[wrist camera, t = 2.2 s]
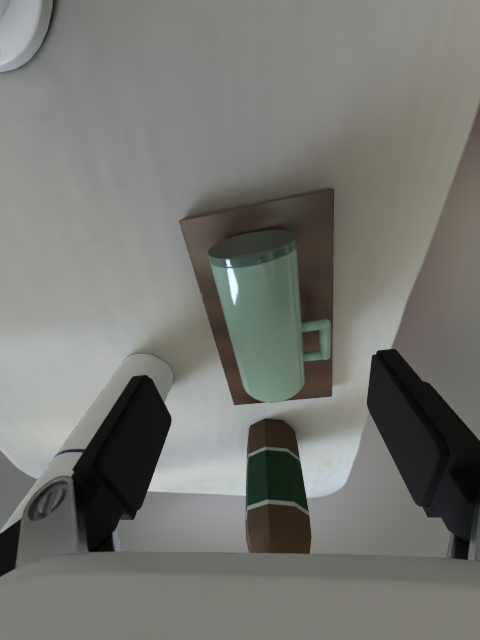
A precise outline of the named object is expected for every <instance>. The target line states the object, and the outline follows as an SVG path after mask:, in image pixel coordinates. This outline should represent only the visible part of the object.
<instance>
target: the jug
mask: <svg viewBox="0 0 480 640" xmlns="http://www.w3.org/2000/svg"><path fill="white" fill-rule="evenodd" d="M207 254H208V258H209V261H210V266H211V269H212V273H213V277H214V280H215V284H216V288H217V292H218V295H219V299H220V303H221V307H222V310H223V314H224V318H225V321H226V325H227V329H228V333H229V336H230V340H231V344H232V348H233V351H234V355H235V359H236V362H237V366H238V370H239V374H240V377H241V381H242V385H243V387H244V389H245V391H246V392H247V393H248V394H249V395H250V396H251V397H253V398H255V399H257V400H260V401H263V402H280V401H284V400H287V399H289V398H291V397H293V396H294V395H296V394H297V393H298V392H299V391H300V390H301V389H302V387H303V385H304V382H305V363H304V362H306V361H315V360H327V359H329V358H330V343H331V323H330V321H329V320H328V319H322V320H314V321H307V322H302V315H301V298H300V282H299V266H298V250H297V236H296V234H295V233H293V232H290V231H285V230H266V231H258V232H252V233H247V234H243V235H239V236H235V237H232V238H229V239H226V240H224V241H221V242H219V243H217V244H215V245H214V246H212V247H211V248H210V249H209V250H208V252H207ZM316 330H319V351H312V352H304V347H303V332H308V331H316Z"/></svg>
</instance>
